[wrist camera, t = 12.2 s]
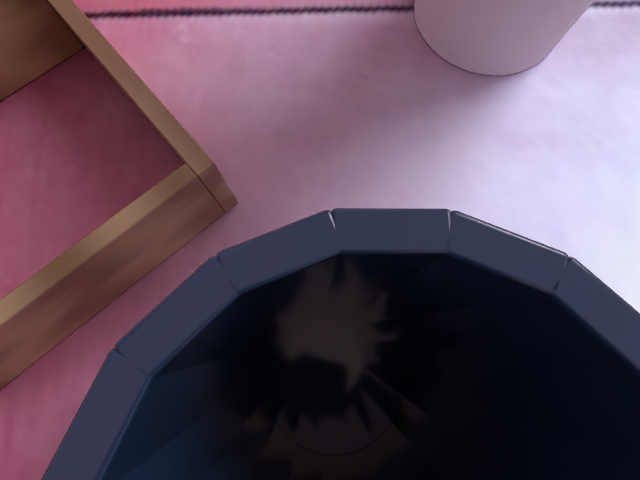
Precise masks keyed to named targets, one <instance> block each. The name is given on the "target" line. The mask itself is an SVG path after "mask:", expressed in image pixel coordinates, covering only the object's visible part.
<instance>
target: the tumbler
mask: <svg viewBox="0 0 640 480" xmlns="http://www.w3.org/2000/svg"><path fill="white" fill-rule="evenodd" d="M41 480H640V313H639V312H637V311H636V310H635V309H634V308H633V307H632V306H630V305H629V304H628V303H627V302H626V301H624V300H623V299H622V298H621V297H620V296H619V295H617V294H616V293H615V292H614V291H613V290H612V289H610V288H609V287H608V286H607V285H606V284H604V283H603V282H602V281H601V280H600V279H599V278H597V277H596V276H595V275H594V274H593V273H592V272H590V271H589V270H588V269H587V268H586V267H584V266H583V265H582V264H581V263H580V262H579V261H577V260H576V259H575V258H572V257H568V255H567V254H566V253H565V252H562V251H560V250H557V249H554V248H552V247H549V246H547V245H544V244H541V243H539V242H536V241H534V240H531V239H528V238H526V237H523V236H521V235H518V234H515V233H513V232H510V231H508V230H505V229H502V228H500V227H497V226H495V225H492V224H490V223H487V222H484V221H482V220H479V219H477V218H474V217H471V216H469V215H466V214H464V213H461V212H458V211H451V212H450V210H448V209H379V208H336V209H333V210H332V211H329V210H324V211H322V212H319V213H317V214H314V215H312V216H309V217H306V218H304V219H301V220H299V221H296V222H294V223H291V224H288V225H286V226H283V227H281V228H278V229H276V230H273V231H271V232H268V233H265V234H263V235H260V236H258V237H255V238H253V239H250V240H247V241H245V242H242V243H240V244H237V245H235V246H232V247H230V248H227V249H224V250H222V251H220V252H219V253H217V257H216V256H213V257H210V258H209V259H208V260H207V261H206V262H205V263H203V264H202V265H201V266H200V267H199V268H198V269H197V270H196V271H195V272H194V273H193V274H191V275H190V276H189V277H188V278H187V279H186V280H185V281H184V282H183V283H182V284H180V285H179V286H178V287H177V288H176V289H175V290H174V291H173V292H172V293H171V294H169V295H168V296H167V297H166V298H165V299H164V300H163V301H162V302H161V303H160V304H158V305H157V306H156V307H155V308H154V309H153V310H152V311H151V312H150V313H149V314H147V315H146V316H145V317H144V318H143V319H142V320H141V321H140V322H139V323H138V324H136V325H135V326H134V327H133V328H132V329H131V330H130V331H129V332H128V333H127V334H125V335H124V336H123V337H122V338H121V339H120V340H119V341H118V342H117V343H116V345H115V348H114V349H112V350H111V351H110V352H109V354H108V355H107V357H106V359H105V361H104V363H103V365H102V367H101V369H100V370H99V372H98V374H97V376H96V378H95V380H94V382H93V384H92V385H91V387H90V389H89V391H88V393H87V395H86V397H85V399H84V400H83V402H82V404H81V406H80V408H79V410H78V412H77V414H76V415H75V417H74V419H73V421H72V423H71V425H70V427H69V429H68V431H67V432H66V434H65V436H64V438H63V440H62V442H61V444H60V446H59V447H58V449H57V451H56V453H55V455H54V457H53V459H52V461H51V462H50V464H49V466H48V468H47V470H46V472H45V474H44V476H43V477H42V479H41Z"/></svg>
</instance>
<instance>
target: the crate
mask: <svg viewBox="0 0 640 480" xmlns="http://www.w3.org/2000/svg"><path fill="white" fill-rule="evenodd" d="M84 47H85V48H86V49H87V50H88V51H89V53H90V54H91V55H92V56H93V57H94V59H95V60H96V61H97V62H98V63H99V64H100V66H101V67H102V68H103V69H104V70H105V71H106V73H107V74H108V75H109V76H110V77H111V79H112V80H113V81H114V82H115V83H116V84H117V86H118V87H119V88H120V89H121V90H122V91H123V93H124V94H125V95H126V96H127V97H128V98H129V100H130V101H131V102H132V103H133V104H134V106H135V107H136V108H137V109H138V110H139V111H140V113H141V114H142V115H143V116H144V117H145V118H146V120H147V121H148V122H149V123H150V124H151V125H152V127H153V128H154V129H155V130H156V131H157V133H158V134H159V135H160V136H161V137H162V138H163V140H164V141H165V142H166V143H167V144H168V145H169V147H170V148H171V149H172V150H173V151H174V152H175V154H176V155H177V156H178V157H179V158H180V160H181V161H182V162H183V163H184V164H183V165H182V166H181V167H179V168H178V169H176V170H175V171H174V172H172V173H171V174H170V175H168V176H167V177H166V178H164V179H163V180H162V181H160V182H159V183H158V184H156V185H155V186H153V187H152V188H151V189H149V190H148V191H147V192H145V193H144V194H143V195H141V196H140V197H139V198H137V199H136V200H135V201H133V202H132V203H131V204H129V205H128V206H126V207H125V208H124V209H122V210H121V211H120V212H118V213H117V214H116V215H114V216H113V217H112V218H110V219H109V220H108V221H106V222H105V223H103V224H102V225H101V226H99V227H98V228H97V229H95V230H94V231H93V232H91V233H90V234H89V235H87V236H86V237H85V238H83V239H82V240H80V241H79V242H78V243H76V244H75V245H74V246H72V247H71V248H70V249H68V250H67V251H66V252H64V253H63V254H62V255H60V256H59V257H57V258H56V259H55V260H53V261H52V262H51V263H49V264H48V265H47V266H45V267H44V268H43V269H41V270H40V271H39V272H37V273H36V274H34V275H33V276H32V277H30V278H29V279H28V280H26V281H25V282H24V283H22V284H21V285H20V286H18V287H17V288H16V289H14V290H13V291H11V292H10V293H9V294H7V295H6V296H5V297H3V298H2V299H1V300H0V389H2V388H3V387H4V386H5V385H7V384H8V383H9V382H10V381H11V380H13V379H14V378H15V377H16V376H18V375H19V374H20V373H22V372H23V371H24V370H25V369H27V368H28V367H29V366H31V365H32V364H33V363H34V362H36V361H37V360H38V359H39V358H41V357H42V356H43V355H45V354H46V353H47V352H48V351H50V350H51V349H52V348H53V347H55V346H56V345H57V344H59V343H60V342H61V341H62V340H64V339H65V338H66V337H67V336H69V335H70V334H71V333H73V332H74V331H75V330H76V329H78V328H79V327H80V326H82V325H83V324H84V323H85V322H87V321H88V320H89V319H90V318H92V317H93V316H94V315H96V314H97V313H98V312H99V311H101V310H102V309H103V308H104V307H106V306H107V305H108V304H110V303H111V302H112V301H113V300H115V299H116V298H117V297H118V296H120V295H121V294H122V293H124V292H125V291H126V290H127V289H129V288H130V287H131V286H132V285H134V284H135V283H136V282H138V281H139V280H140V279H141V278H143V277H144V276H145V275H147V274H148V273H149V272H150V271H152V270H153V269H154V268H155V267H157V266H158V265H159V264H161V263H162V262H163V261H164V260H166V259H167V258H168V257H169V256H171V255H172V254H173V253H175V252H176V251H177V250H178V249H180V248H181V247H182V246H183V245H185V244H186V243H187V242H189V241H190V240H191V239H192V238H194V237H195V236H196V235H198V234H199V233H200V232H201V231H203V230H204V229H205V228H206V227H208V226H209V225H210V224H212V223H213V222H214V221H215V220H217V219H218V218H219V217H220V216H222V215H223V214H224V213H225V212H227V211H229V210H230V209H231V208H232V207H234V206H235V205H236V204H237V203H238V201H237V200H236V198H235V196H234V195H233V193H232V192H231V190H230V188H229V187H228V185H227V183H226V182H225V180H224V178H223V177H222V175H221V173H220V172H219V170H218V168H217V167H216V165H215V164H214V162H213V161H212V160H211V159H210V158H209V157H208V155H207V154H206V153H205V152H204V151H203V150H202V149H201V147H200V146H199V145H198V144H197V143H196V142H195V141H194V139H193V138H192V137H191V136H190V135H189V134H188V132H187V131H186V130H185V129H184V128H183V127H182V126H181V124H180V123H179V122H178V121H177V120H176V119H175V118H174V116H173V115H172V114H171V113H170V112H169V111H168V110H167V108H166V107H165V106H164V105H163V104H162V103H161V102H160V100H159V99H158V98H157V97H156V96H155V95H154V93H153V92H152V91H151V90H150V89H149V88H148V87H147V85H146V84H145V83H144V82H143V81H142V80H141V79H140V77H139V76H138V75H137V74H136V73H135V72H134V71H133V69H132V68H131V67H130V66H129V65H128V64H127V63H126V61H125V60H124V59H123V58H122V57H121V56H120V55H119V53H118V52H117V51H116V50H115V49H114V48H113V46H112V45H111V44H110V43H109V42H108V41H107V40H106V38H105V37H104V36H103V35H102V34H101V33H100V32H99V30H98V29H97V28H96V27H95V26H94V25H93V24H92V22H91V21H90V20H89V19H88V18H87V17H86V16H85V14H84V13H83V12H82V11H81V10H80V9H79V7H78V6H77V5H76V4H75V3H74V2H73V1H72V0H0V101H1V100H3V99H4V98H6V97H7V96H9V95H10V94H12V93H14V92H15V91H17V90H18V89H20V88H21V87H23V86H25V85H26V84H28V83H29V82H31V81H32V80H34V79H36V78H37V77H39V76H40V75H42V74H43V73H45V72H46V71H48V70H50V69H51V68H53V67H54V66H56V65H57V64H59V63H61V62H62V61H64V60H65V59H67V58H68V57H70V56H72V55H73V54H75V53H76V52H78V51H79V50H81V49H82V48H84Z"/></svg>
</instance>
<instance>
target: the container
mask: <svg viewBox="0 0 640 480" xmlns="http://www.w3.org/2000/svg"><path fill="white" fill-rule="evenodd" d="M593 1H594V0H415V1H414V14H415V20H416V24H417V26H418V29H419V31H420V33H421V35H422V36H423V38H424V39H425V41H426V42H427V43H428V45H429V46H430V47H431V48H432V49H433V50H434V51H435V52H436V53H437V54H438V55H439V56H441V57H442V58H444V59H445V60H447V61H448V62H450V63H451V64H453V65H455V66H458V67H460V68H462V69H464V70H467V71H470V72H473V73H478V74H484V75H509V74H514V73H519V72H522V71H525V70H527V69H529V68H531V67H533V66H535V65H537V64H538V63H539V62H541V61H542V60H543V59H544V58H546V57H547V56H548V54H549V53H550V52H551V51H552V50H553V48H554V47H555V46H556V45H557V44H558V43H559V41H560V40H561V39H562V38H563V37H564V36H565V34H566V33H567V32H568V31H569V30H570V28H571V27H572V26H573V25H574V24H575V23H576V21H577V20H578V19H579V18H580V17H581V15H582V14H583V13H584V12H585V11H586V10H587V8H588V7H589V6H590V5H591V4H592V3H593Z"/></svg>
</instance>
